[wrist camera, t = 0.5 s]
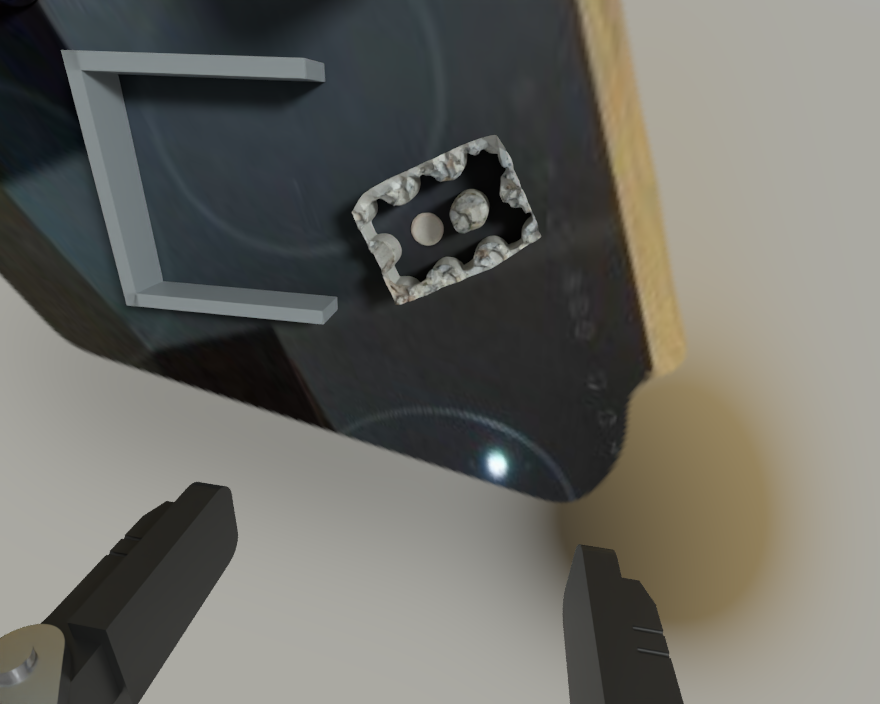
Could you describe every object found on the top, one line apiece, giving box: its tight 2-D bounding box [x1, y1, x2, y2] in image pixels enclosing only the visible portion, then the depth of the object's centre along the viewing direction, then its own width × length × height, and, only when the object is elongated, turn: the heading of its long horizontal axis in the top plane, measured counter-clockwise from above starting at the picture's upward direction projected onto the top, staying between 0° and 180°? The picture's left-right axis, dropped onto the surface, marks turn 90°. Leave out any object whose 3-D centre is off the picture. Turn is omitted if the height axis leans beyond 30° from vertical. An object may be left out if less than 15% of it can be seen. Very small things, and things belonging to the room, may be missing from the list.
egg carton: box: [352, 135, 541, 305], centre depth 31 cm, size 11×8×4 cm
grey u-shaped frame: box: [61, 50, 338, 324], centre depth 33 cm, size 16×15×3 cm
